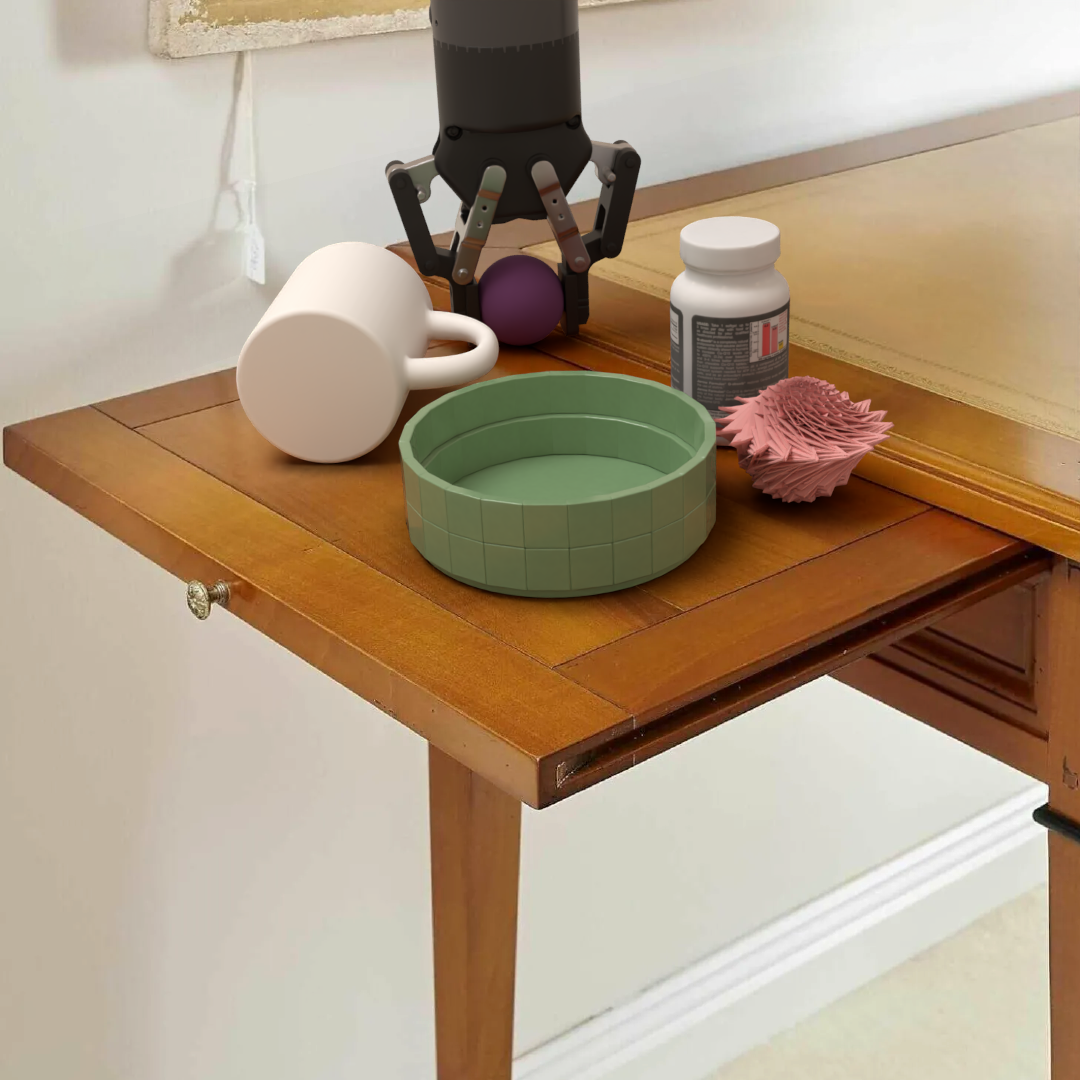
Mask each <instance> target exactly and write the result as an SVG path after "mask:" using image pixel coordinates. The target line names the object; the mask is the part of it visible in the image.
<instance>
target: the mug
mask: <svg viewBox="0 0 1080 1080" xmlns="http://www.w3.org/2000/svg"><path fill="white" fill-rule="evenodd" d="M431 341H459V342H460V341H463V342H466V343H467V342H471V343H473V344H475V345H477V346H476V347H475V348H474V349H471V350H470V351H467V352H463V353H459V354H452V355H447V356H436V357H425V356H426V353H427V351H428V349H429V347H430V345H431ZM499 351H500V347H499V340H497V337H496V335H495V334H494V332H493V331H492V330H491V329H490V328H489V327H488V326H487V325H485V324H484V323H482V322H480V321H478V320H476V319H473V318H471V317H467V316H464V315H460V314H456V313H451V311H450V312H449V311H441V310H434V306H433V303H432V299H431V296H430V293H429V291H428V288H427V286H426V285H425V283H424V281H423V279H422V278H421V276H420V275H419V274H418V273H417V271H415V269H414V268H413V267H412V266H411V265H410V264H409V263H408V262H407V261H406V260H405V259H403V258H402V257H400V256H399V255H397V254H396V253H395V252H393V251H391V250H389V249H387V248H385V247H382V246H379V245H377V244H373V243H369V242H364V241H342V242H337V243H332V244H328V245H326V246H323V247H321V248H319V249H317V250H316V251H314V252H312V253H310V254H309V255H308V256H307V257H305V258H304V259H303V260H302V261H301V262H300V263H299V264H298V265H297V267H296V268H295V270H294V271H293V272H292V274H291V275H290V277H288V280H287V281H286V282H285V283H284V285H283V286H282V288H281V289H280V291H279V292H278V294H277V295H276V297H275V298H274V299H273V301H272V302H271V304H270V305H269V307H268V308H267V310H266V311H265V312H264V314H263V315H262V317H261V318H260V319H259V322H258V323H257V324H256V325H255V327H254V328H253V330H252V332H251V333H250V334H249V336H248V337H247V338H246V340H245V342H244V344H243V346H242V348H241V350H240V353H239V356H238V360H237V363H236V372H235V373H236V374H235V381H236V389H237V390H236V391H237V394H238V398H239V401H240V404H241V407H242V409H243V411H244V414H245V416H246V417H247V419H248V420H249V422H250V423H251V425H252V426H253V428H254V429H255V430H256V431H257V432H258V433H259V435H261V436H262V437H263V439H265V440H266V441H267V442H268V443H270V444H271V445H272V446H274V447H275V448H276V449H278V450H280V451H282V452H284V453H285V454H287V455H290V456H292V457H294V458H296V459H300V460H304V461H307V462H312V463H319V464H335V463H337V464H338V463H344V462H349V461H353V460H355V459H358V458H360V457H362V456H364V455H366V454H368V453H370V452H372V451H373V450H375V449H376V448H377V447H379V445H380V444H382V443H383V442H384V441H385V440H386V439H387V437H388V436H389V435H390V433H391V432H392V431H393V429H394V427H395V426H396V423H397V421H398V420H399V417H400V414H401V412H402V410H403V408H404V406H405V403H406V401H407V398H408V396H409V393H410V392H411V391H418V390H419V391H420V390H432V389H433V390H434V389H442V388H448V387H454V386H459V385H463V384H467V383H470V382H474V381H476V380H478V379H480V378H483V377H484V376H486V375H487V374H489V373H490V372H491V371H492V369H493V368H494V367H495V365H496V363H497V361H498V359H499Z"/></svg>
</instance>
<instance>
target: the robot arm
mask: <svg viewBox="0 0 1080 1080" xmlns="http://www.w3.org/2000/svg"><path fill="white" fill-rule="evenodd" d="M429 2H430V3H429V6H428V17H429V18H428V20H429V23H430V25H431V31H432V43H433V57H434V70H435V71H434V72H435V73H434V74H435V83H436V86H435V87H436V96H437V97H436V99H437V110H438V111H437V113H438V126H439V129H438V135H437V139H436V141H435V143H434V145H433V147H432V151H431V154H428V155H426V156H423V157H420V158H417V159H415V160H412V161H408V162H406V163H404V162H403V161H401V160H398V159H395V160H391V161H389V162H388V163H387V165H386V166H385V168H384V174H385V177H386V180H387V183H388V186H389V188H390V193H391V194H392V197H393V200H394V203H395V206H396V209H397V212H398V215H399V217H400V220H401V223H402V226H403V228H404V232H405V234H406V238H407V241H408V243H409V246H410V249H411V251H412V255H413V257H414V260H415V264H416V266H417V269H418V271H419V273H420V274H421V275H423V277H427V278H428V277H429V278H431V277H439V278H442V279H445V280H446V281H448V287H449V288H448V289H449V301H450V302H449V303H450V313H456V314H460V315H464V316H467V317H471V318H473V319H476V320H478V321H480V307H479V292H478V281H477V279H476V277H475V274H476V270H477V267H478V264H479V260H480V257H481V254H482V251H483V249H484V247H485V246H486V244H487V241H488V238H489V234H490V232H491V228H492V226H494V225H503V224H507V223H510V222H511V221H515V220H518V219H520V220H527V221H533V222H534V221H542V220H543V221H544V220H546V222H547V223H548V225H549V228H550V230H551V232H552V234H553V237H554V239H555V242H556V244H557V246H558V249H559V251H560V253H561V254H560V255H561V262H557V264H556V265H557V266H556V267H557V276H558V277H559V279H560V281H561V284H562V286H563V292H564V310H563V314H562V317H561V319H560V321H559V324H560V329H561V330H562V332H563V334H564V335H565V337H574V336H579V334H580V326H583V325H587V324H588V321H589V317H590V290H589V288H590V287H589V272H590V269H591V267H592V266H593V265H595V264H596V263H598V262H599V261H601V260H604V259H610V260H611V259H615V258H617V257H618V256H619V255H620V254H621V253H622V250H623V245H624V242H625V237H626V232H627V228H628V225H629V219H630V214H631V211H632V205H633V202H634V197H635V192H636V187H637V183H638V178H639V175H640V174H639V173H640V169H641V165H642V158H641V155H640V154H639V153H638V152H637V150H636V149H635V148H634V147H633V146H632V145H631V144H630V143H629V142H628V141H626V140H624V139H618V140H616V141H614V142H613V143H611V142H606V141H605V142H604V141H598V140H593V139H592V140H591V137H590V136H589V135H588V133H587V132H586V131H587V130H586V129H585V127H584V123H583V114H582V113H583V111H582V87H581V85H582V83H581V57H580V22H579V21H580V20H579V19H580V18H579V0H429ZM589 162H592V163H593V165H594V174H595V177H596V178H597V179H598V180H599V182H600V184H601V187H600V191H599V192H600V193H599V197H598V202H597V207H596V211H595V215H594V221H593V226H592V230H591V231H589V232H586V233H584V234H582V235H581V233H580V230H579V226H578V224H577V222H576V219H575V217H574V215H573V212H572V209H571V207H570V204H569V203H568V200H567V196H568V195H569V194H570V192H571V190H572V189H573V187H574V186H575V184H576V183H577V181H578V179H579V178H580V176H581V175H582V173H583V171H584V170H585V169H586V167H587V166H588V164H589ZM438 176H439V177H440V178H441V179H442V180H443V181H444V182H445V184H446V185H447V186H448V187H449V188H450V189H451V190H452V192H453V193H454V194H455V195H456V197H458V199H459V200H460V203H459V207H458V210H457V213H456V216H455V217H456V218H455V221H454V230H453V234H452V239H451V242H450V246H449V249H448V248H443V247H441V246H440V247H439V246H435V244H434V241H433V238H432V235H431V232H430V229H429V227H428V226H429V225H428V223H427V219H426V218H425V214H424V211H423V208H422V205H421V204H424V203H427V202H428V201H429V200H430V198H431V194H432V189H431V185H432V181H433V180H434V179H435V178H436V177H438ZM466 343H467V345H468V347H470V348H471V347H478V346H477V345H475V344H473V343H471V342H467V341H466Z"/></svg>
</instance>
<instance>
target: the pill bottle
mask: <svg viewBox="0 0 1080 1080" xmlns="http://www.w3.org/2000/svg"><path fill="white" fill-rule="evenodd" d="M781 252H782V251H781V230H780V228H779V227H778V226H777V225H776V224H774V223H773V222H770V221H768V220H765V219H761V218H756V217H751V216H750V217H749V216H741V215H740V216H739V215H737V216H736V215H733V216H731V215H729V216H728V215H727V216H725V215H724V216H714V217H709V218H702V219H698V220H695V221H693V222H691V223H689V224H687V225H686V226H684V227H683V228H682V229H681V230H680V233H679V258H680V259H681V261H682V262H683V265H684V266H685V269H684V270H683V271H682V272H681V273H679V274H678V275H677V277H676V278H675V279H674V281H673V282H672V284H671V287H670V294H669V324H670V325H669V326H670V327H669V329H670V331H669V332H670V339H669V340H670V341H669V342H670V387H672V388H674V389H677V390H679V391H682V392H684V393H686V394H687V395H689V396H690V397H692V398H693V399H695V400H696V401H697V402H699V403H700V404H702V405H703V406H704V407H705V408H706V409H707V411H708V412H709V414H710V415H711V417H712V418H713V419H715V418H716V419H720V418H725V417H727V416H729V415H731V414H728V413H726V412H724V411H721V410H720V409H718V406H719V407H733V406H739V405H744V404H742V403H741V402H740V401H738V400H735V399H734V398H736V397H737V396H738V397H741V398H752V397H757V396H759V395H760V393H759V390H763V391H764V390H766V389H767V387H768V386H772V385H775V384H776V383H779V381H780V380H784V379H789V370H790V369H789V366H790V365H789V362H790V361H789V360H790V321H791V292H790V291H791V290H790V286H789V282H788V281H787V279H786V278H785V276H784V275H783V274H782V273H781V272H780V271H778V270H777V269H776V268H775V263H776V262H777V261H778V259H779V258H780V257H781ZM715 423H716V431H721V430H723V429H724V428H725V427H724V426H723V425H721V424H720V423H719V422H715ZM729 444H731V442H730V441H728V440H727V439H725V438H723V437H721V436H720V435H716V446H718V447H730V446H729Z"/></svg>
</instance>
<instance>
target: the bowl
mask: <svg viewBox="0 0 1080 1080" xmlns="http://www.w3.org/2000/svg"><path fill="white" fill-rule="evenodd" d="M398 453H399V462H400V472H401V482H402V491H403V492H402V494H403V502H404V514H405V515H404V516H405V524H406V527H407V532H408V536H409V540H410V543H411V544H412V545H413V546H414V547H415V549H416V550H417V551H418V552H419V553H420V555H422V556H423V558H424V559H425V560H427V561H428V562H429V563H430V564H431V565H432V566H433V567H434V568H435V569H436V570H438V571H440V573H443V574H444V575H446V576H448V577H450V578H451V579H454V580H456V581H458V582H460V583H463V584H466V585H468V586H471V587H474V588H478V589H481V590H485V591H488V592H491V593H497V594H503V595H508V596H515V597H518V596H519V597H525V598H541V599H542V598H545V599H547V598H548V599H550V598H551V599H555V598H556V599H558V598H578V597H586V596H594V595H601V594H606V593H607V594H608V593H612V592H617V591H621V590H625V589H630V588H632V587H636V586H638V585H641V584H642V585H643V584H645V583H648V582H650V581H652V580H655V579H657V578H659V577H661V576H664V575H666V574H667V573H669V572H671V571H673V570H675V569H677V568H678V567H679V566H681V565H682V564H684V563H685V562H686V561H688V560H689V559H690V558H691V557H692V556H693V555H694V554H695V553H696V552H697V551H698V549H700V547H701V546H702V545H703V544H704V543H705V541H706V540H707V538H708V537H709V534H710V532H711V531H712V529H713V528H714V525H715V523H716V520H717V519H716V518H717V445H716V423H715V421H714V420H713V418H712V417H711V415H710V414H709V412H708V411H707V409H706V408H705V407H704V406H703V405H702V404H700V403H699V402H697V401H696V400H695V399H693V398H692V397H690V396H689V395H687V394H686V393H684V392H682V391H679V390H677V389H674V388H672V387H671V386H669V385H667V384H664V383H661V382H660V381H659V382H658V381H656V380H652V379H647V378H643V377H639V376H638V377H637V376H633V375H629V374H623V373H614V372H603V371H595V370H594V371H593V370H545V371H538V372H529V373H527V372H526V373H521V374H520V373H518V374H512V375H511V374H510V375H506V376H501V377H497V378H493V379H489V380H488V379H487V380H484V381H480V382H476V383H473V384H470V385H468V386H464V387H462V388H459V389H456V390H454V391H451V392H448V393H445V394H444V395H442V396H440V397H438V398H437V399H435V400H433V401H431V402H430V403H428V404H426V405H424V406H423V407H421V408H420V409H419V410H418V411H416V413H415V414H414V415H413V416H412V417H410V419H409V420H408V421H407V422H406V423H405V424H404V426H403V429H402V432H401V434H400V437H399V440H398Z"/></svg>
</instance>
